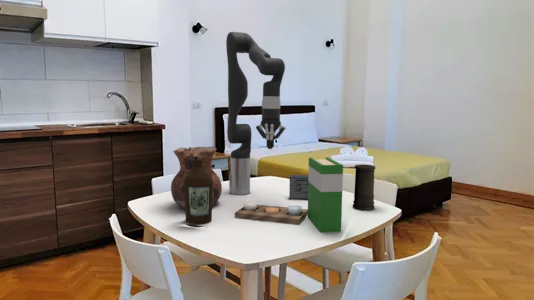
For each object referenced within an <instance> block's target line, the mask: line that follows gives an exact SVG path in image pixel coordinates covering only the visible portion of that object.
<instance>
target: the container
mask: <svg viewBox="0 0 534 300" xmlns="http://www.w3.org/2000/svg"><path fill="white" fill-rule="evenodd" d="M354 169H355V170H354V171H355V175H354V176H355V178H354V194H353V198H354V199H353V204H352V208H353V209H355V210H357V211H364V210H367V211H372V210H373V211H374V210H375V199H374V198H375V195H374V194H375V193H374V192H375V190H374V189H375V172H376V171H375V170H376V166H375V165H372V164H355V165H354Z"/></svg>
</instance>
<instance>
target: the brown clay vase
mask: <svg viewBox="0 0 534 300" xmlns="http://www.w3.org/2000/svg"><path fill="white" fill-rule="evenodd" d="M172 152H173V153H174V155H175V156H176V157H177V159H178V163H179V171H178V172H177V174H175V175H174V177H173V179H172V180H171V185H170V193H171V197H172V199H173V201H174V202H175V204H176V205H178V207H180V208H182V209H183V210H185V198H184V185H183V182H184V178H185V176H186V174H187V173H188V172H189V171H190V170H191V169H192V168H193V160H194V158H193V157H194V156H202V160H203V167H204V168H205V169H206V170H207V171H208V172H209V174H210V175H211V177H212V180H213V195H212V207H213V206H215V205H216V204H217V203H218V201H219V199H220V198H221V195H222V191H223V185H222V181H221V180H220V177H219V175H218V174H217V173H216V172H215V171H214V170H213V169H212V161H213V160H212V159H213V157H214V154H215V153H216V152H217V147H216V146H195V147H191V146H189V147H188V148H186V147H178V148H177V149H174V150H173V151H172Z"/></svg>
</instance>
